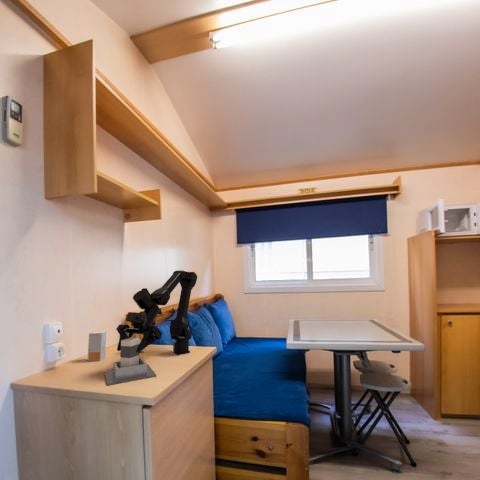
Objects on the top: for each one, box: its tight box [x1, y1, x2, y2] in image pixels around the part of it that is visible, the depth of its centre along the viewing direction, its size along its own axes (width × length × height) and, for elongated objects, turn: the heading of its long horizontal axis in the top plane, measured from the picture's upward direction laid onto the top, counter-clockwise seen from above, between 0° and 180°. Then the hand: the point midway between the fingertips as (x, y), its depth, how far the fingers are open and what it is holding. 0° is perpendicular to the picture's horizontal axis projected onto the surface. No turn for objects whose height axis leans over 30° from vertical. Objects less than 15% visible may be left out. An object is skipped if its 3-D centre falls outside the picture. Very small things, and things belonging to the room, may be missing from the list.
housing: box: [104, 357, 157, 386], centre depth 105 cm, size 16×16×4 cm
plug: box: [119, 337, 140, 368], centre depth 106 cm, size 5×5×12 cm
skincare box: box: [87, 331, 107, 362], centre depth 128 cm, size 6×4×12 cm
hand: (127, 351), depth 105 cm, fingers open, 9 cm apart
